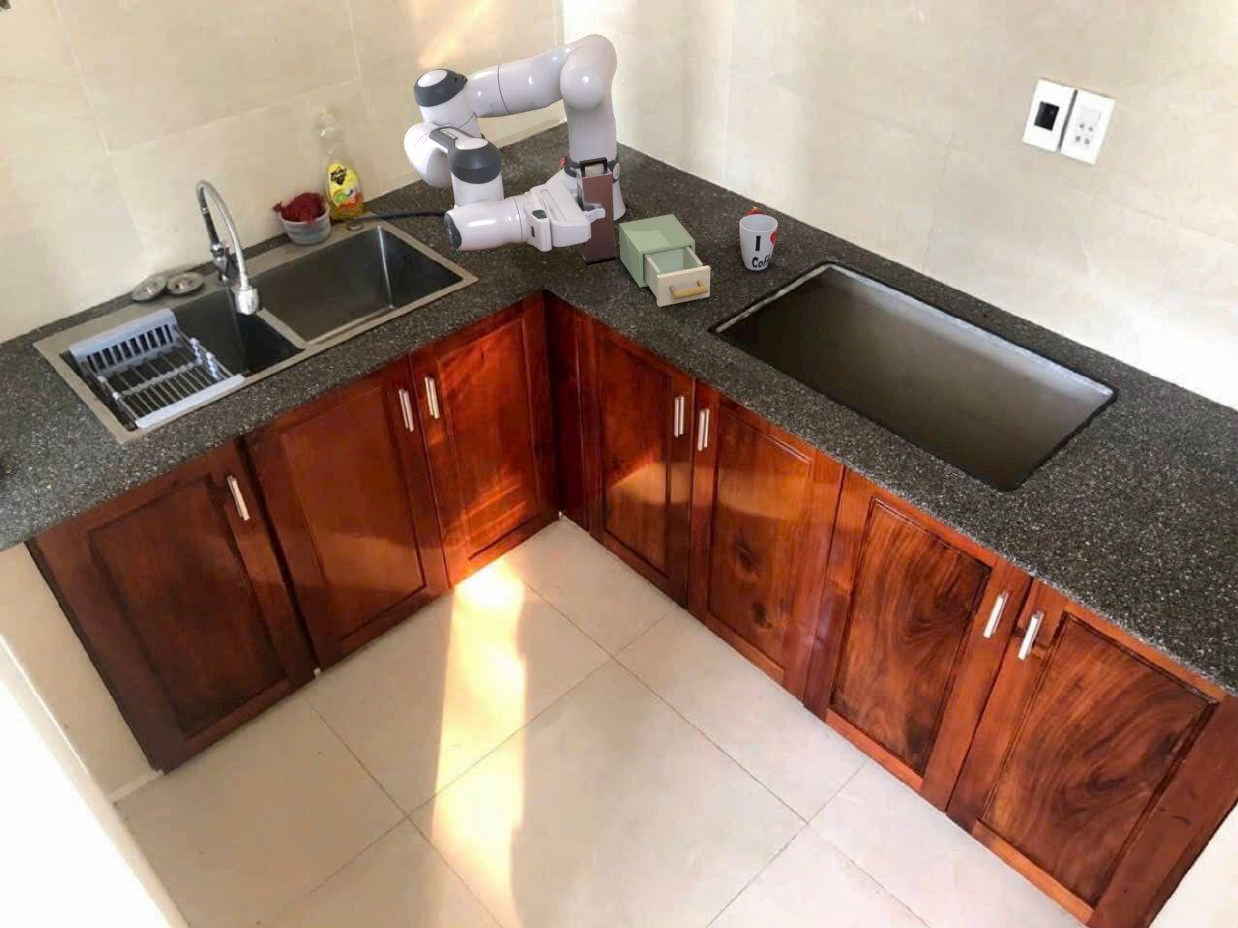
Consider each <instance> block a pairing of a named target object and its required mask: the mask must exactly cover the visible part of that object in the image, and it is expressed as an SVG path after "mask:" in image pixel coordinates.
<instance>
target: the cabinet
mask: <svg viewBox="0 0 1238 928" xmlns="http://www.w3.org/2000/svg"><path fill="white" fill-rule="evenodd" d="M618 237H619V259H620V260H621V263H622V264H623V265H624V266H625V268H626V269H627V271H628V272H629V274H630V276H631V277H632V278H633V280H634V281H635V283H636V284H637V286H638V288H644V287H649V286H648V284H647V283H646V281H645V280H644V279H643V254H648V253H653V252H658V251H663V250H669V249H674V248H679V247H684V246H689V247H690V248H691V250H692V251H693V252H694V253H695V254H696V240H695V239H694V238H693V237H692V235H690V233H689V232H688V231H687V230H686V228H685V227H684V226H683V225H682V224H681V222H680V221H679V220H678V218H677V217H676V216H675V215H674V214H673V213H670V214H664V215H659V216H652V217H649V218H643V219H638V220H631V221H627V222H621V223H618Z"/></svg>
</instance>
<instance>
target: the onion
mask: <svg viewBox="0 0 1238 928" xmlns="http://www.w3.org/2000/svg"><path fill="white" fill-rule="evenodd" d="M756 214H759V215H766V214H765V213H764V212H763V211H761V210H760V209H759V208H758V207H757V206H755V205H753V206H752V209H751V210H750V211H748V212H747V213H745V215H744V217H746V216H749V215H756Z"/></svg>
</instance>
